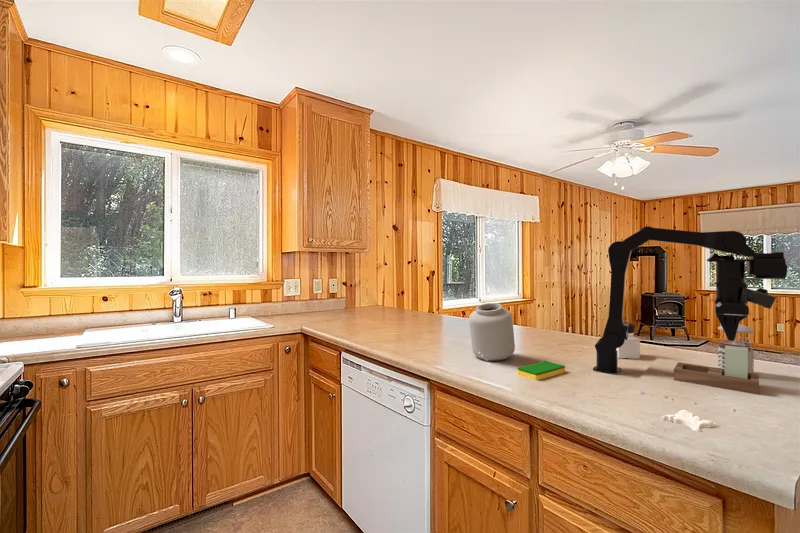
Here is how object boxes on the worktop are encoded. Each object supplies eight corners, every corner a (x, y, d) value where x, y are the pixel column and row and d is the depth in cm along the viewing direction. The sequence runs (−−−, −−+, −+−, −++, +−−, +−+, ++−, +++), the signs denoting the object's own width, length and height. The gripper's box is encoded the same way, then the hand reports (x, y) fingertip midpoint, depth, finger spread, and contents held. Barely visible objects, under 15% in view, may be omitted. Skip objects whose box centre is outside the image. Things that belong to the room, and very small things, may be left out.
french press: (747, 372, 112) (747, 289, 112) (770, 384, 101) (771, 292, 101) (707, 369, 115) (708, 288, 115) (726, 381, 105) (726, 292, 104)
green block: (747, 390, 95) (747, 351, 94) (724, 386, 98) (724, 348, 97) (747, 385, 98) (747, 347, 98) (725, 382, 101) (725, 345, 101)
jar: (499, 368, 119) (498, 289, 118) (458, 360, 128) (458, 287, 128) (521, 355, 134) (521, 286, 133) (483, 349, 143) (483, 284, 142)
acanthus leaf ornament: (661, 422, 81) (661, 413, 81) (678, 415, 84) (678, 407, 84) (703, 436, 74) (702, 426, 74) (719, 428, 77) (719, 419, 77)
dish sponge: (516, 375, 113) (516, 367, 113) (545, 368, 120) (545, 360, 120) (536, 381, 107) (536, 373, 107) (565, 373, 114) (565, 365, 114)
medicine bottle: (629, 353, 135) (629, 320, 135) (640, 359, 128) (640, 324, 128) (608, 353, 136) (608, 320, 136) (618, 358, 129) (618, 324, 128)
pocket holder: (759, 398, 92) (759, 382, 91) (673, 383, 103) (673, 369, 103) (758, 389, 98) (758, 374, 98) (678, 375, 110) (678, 362, 110)
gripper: (778, 281, 87) (778, 348, 87) (768, 277, 101) (768, 335, 101) (715, 280, 94) (715, 342, 94) (714, 277, 108) (715, 330, 108)
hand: (730, 337), depth 99 cm, fingers open, 9 cm apart
